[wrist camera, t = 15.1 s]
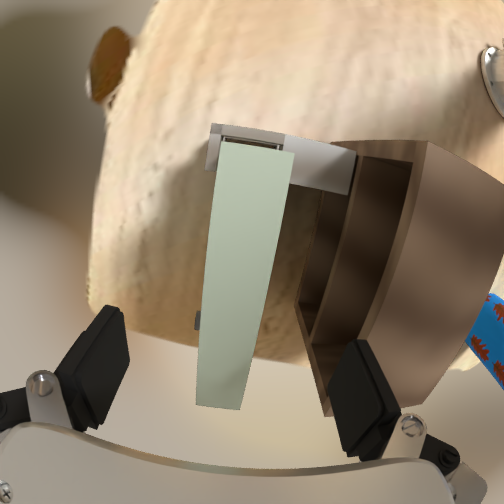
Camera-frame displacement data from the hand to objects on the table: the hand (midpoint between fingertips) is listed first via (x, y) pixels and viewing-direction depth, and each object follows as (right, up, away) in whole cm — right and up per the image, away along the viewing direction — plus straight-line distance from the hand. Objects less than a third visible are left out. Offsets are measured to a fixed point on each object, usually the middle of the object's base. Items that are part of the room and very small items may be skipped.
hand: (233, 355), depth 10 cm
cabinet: (+7, +7, +18) cm, 20 cm away
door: (-1, +7, +18) cm, 19 cm away
